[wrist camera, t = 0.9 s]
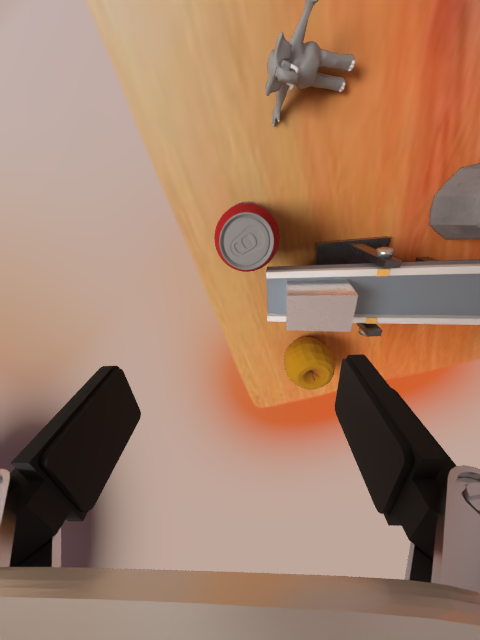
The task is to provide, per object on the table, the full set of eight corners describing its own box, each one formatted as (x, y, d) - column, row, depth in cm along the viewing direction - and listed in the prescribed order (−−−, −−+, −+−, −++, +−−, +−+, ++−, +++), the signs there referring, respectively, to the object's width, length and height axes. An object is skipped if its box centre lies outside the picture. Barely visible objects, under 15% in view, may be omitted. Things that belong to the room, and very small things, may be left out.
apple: (271, 340, 41) (276, 373, 33) (313, 318, 38) (328, 349, 31) (292, 368, 44) (301, 404, 37) (331, 350, 42) (350, 385, 34)
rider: (286, 279, 27) (286, 295, 23) (346, 278, 26) (358, 295, 22) (286, 310, 29) (286, 330, 25) (341, 310, 28) (350, 331, 24)
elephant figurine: (328, 145, 26) (260, 141, 24) (311, 113, 28) (247, 106, 26) (400, 10, 17) (302, -19, 15) (370, -26, 19) (277, -57, 16)
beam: (267, 266, 28) (265, 272, 26) (510, 258, 23) (532, 264, 21) (268, 313, 32) (267, 321, 30) (480, 315, 26) (496, 325, 24)
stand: (269, 242, 32) (278, 261, 23) (437, 228, 30) (524, 242, 21) (271, 308, 38) (278, 345, 28) (413, 299, 36) (473, 336, 26)
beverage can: (278, 235, 32) (293, 254, 21) (240, 259, 34) (236, 288, 23) (255, 190, 29) (259, 186, 18) (215, 219, 31) (197, 231, 20)
